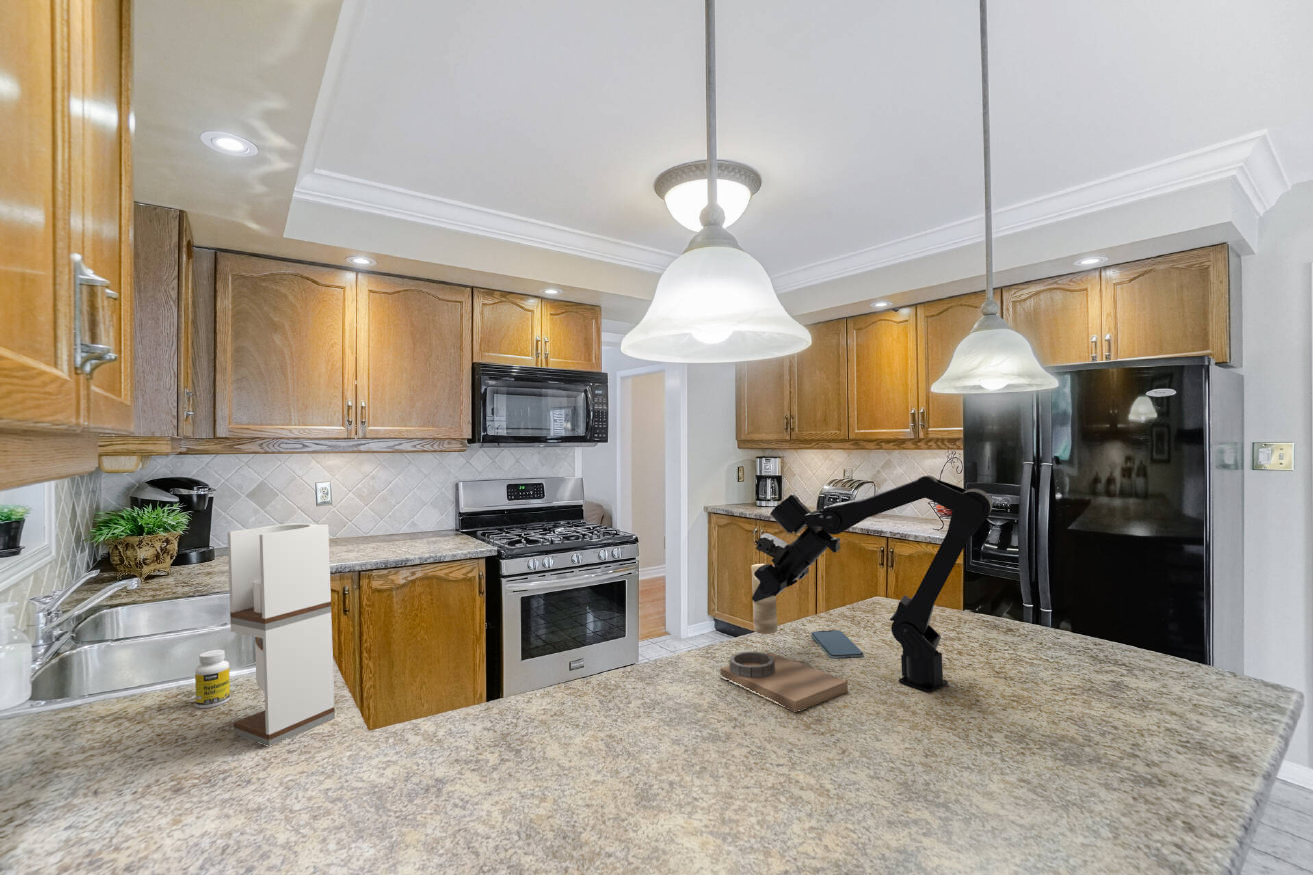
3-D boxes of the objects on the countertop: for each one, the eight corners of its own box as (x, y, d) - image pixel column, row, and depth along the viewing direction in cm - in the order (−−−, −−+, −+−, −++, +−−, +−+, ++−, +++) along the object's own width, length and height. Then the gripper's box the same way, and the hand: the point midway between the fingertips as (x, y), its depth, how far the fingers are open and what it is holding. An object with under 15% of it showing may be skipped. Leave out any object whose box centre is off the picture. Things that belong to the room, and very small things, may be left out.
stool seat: (847, 691, 113) (846, 670, 113) (795, 713, 105) (794, 689, 105) (770, 661, 129) (769, 642, 129) (720, 677, 122) (719, 658, 122)
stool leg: (781, 630, 132) (779, 565, 132) (767, 635, 129) (764, 569, 129) (764, 625, 136) (761, 562, 136) (749, 630, 132) (746, 566, 133)
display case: (299, 707, 115) (293, 522, 115) (334, 717, 110) (328, 524, 110) (234, 734, 105) (227, 531, 105) (269, 747, 100) (262, 534, 100)
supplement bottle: (201, 711, 114) (199, 659, 114) (191, 704, 118) (190, 654, 118) (234, 701, 119) (233, 651, 119) (224, 694, 122) (223, 646, 122)
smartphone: (830, 655, 130) (809, 631, 145) (830, 663, 130) (810, 638, 145) (865, 653, 130) (840, 629, 145) (865, 661, 130) (841, 636, 145)
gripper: (793, 516, 138) (750, 561, 144) (761, 528, 122) (714, 578, 128) (828, 553, 134) (783, 597, 140) (801, 570, 118) (750, 619, 124)
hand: (758, 597), depth 133 cm, fingers closed on stool leg, 5 cm apart
